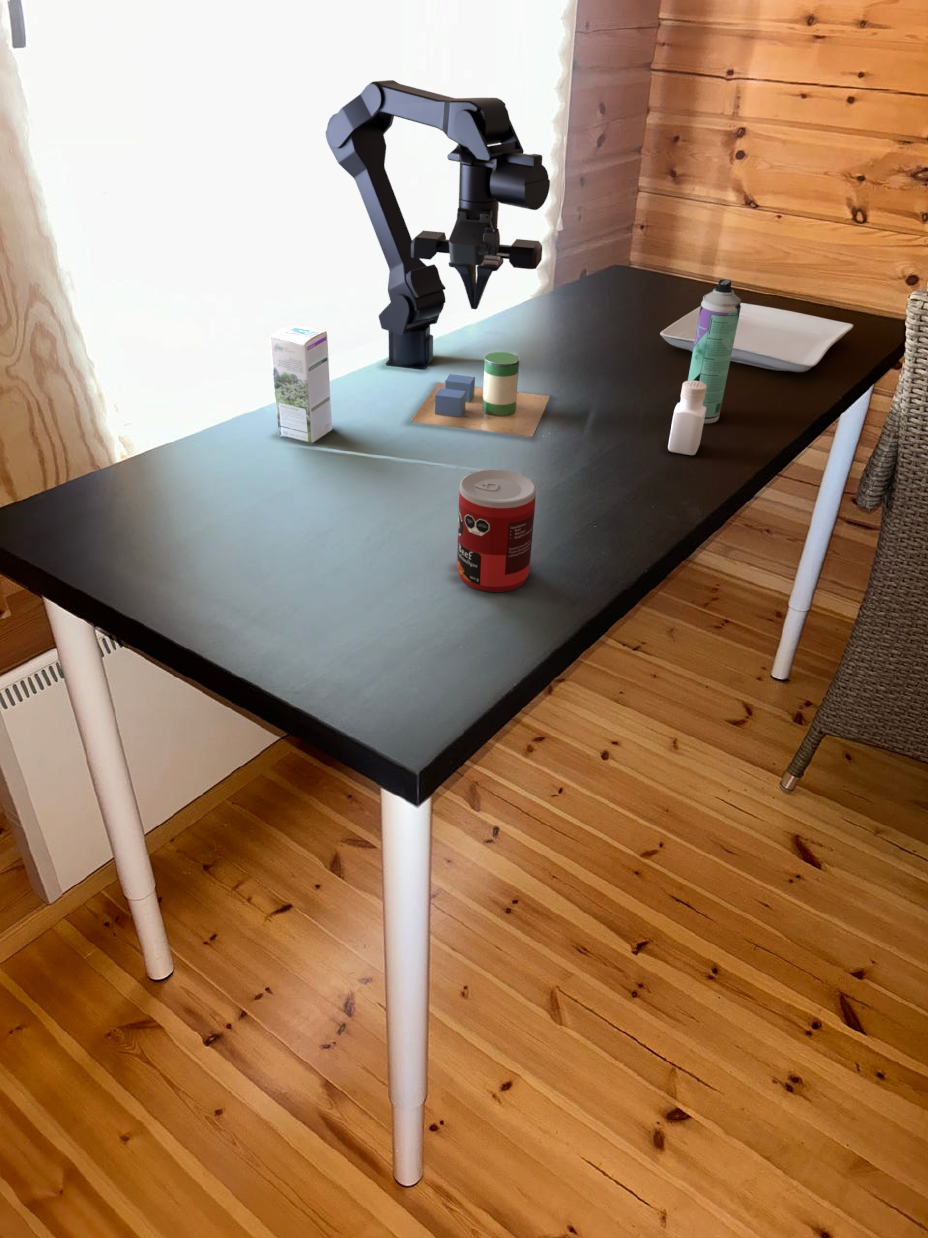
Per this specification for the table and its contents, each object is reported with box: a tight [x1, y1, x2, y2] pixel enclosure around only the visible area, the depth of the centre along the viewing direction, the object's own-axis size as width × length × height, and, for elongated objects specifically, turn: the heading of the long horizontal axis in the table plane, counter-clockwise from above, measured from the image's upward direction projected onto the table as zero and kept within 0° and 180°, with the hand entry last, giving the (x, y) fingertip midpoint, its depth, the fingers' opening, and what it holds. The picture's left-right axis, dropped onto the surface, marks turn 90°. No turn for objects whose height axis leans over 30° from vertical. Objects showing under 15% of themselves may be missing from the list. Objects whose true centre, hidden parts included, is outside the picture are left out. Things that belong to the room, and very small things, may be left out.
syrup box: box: [269, 324, 333, 444], centre depth 129 cm, size 6×6×14 cm
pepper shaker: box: [667, 380, 707, 456], centre depth 131 cm, size 4×4×10 cm
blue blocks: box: [435, 373, 476, 417], centre depth 142 cm, size 4×9×3 cm, turn 167°
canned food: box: [456, 469, 537, 593], centre depth 102 cm, size 8×8×11 cm
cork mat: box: [410, 382, 551, 438], centre depth 143 cm, size 18×16×1 cm
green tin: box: [482, 351, 520, 417], centre depth 140 cm, size 9×5×9 cm
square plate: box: [659, 302, 854, 373], centre depth 170 cm, size 27×27×4 cm
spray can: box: [687, 278, 742, 424], centre depth 138 cm, size 6×6×20 cm
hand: (474, 308), depth 145 cm, fingers closed
